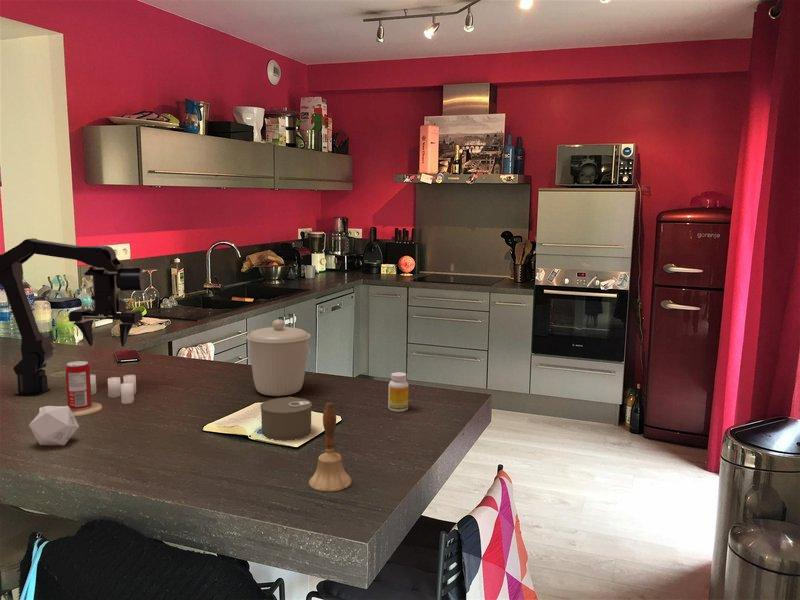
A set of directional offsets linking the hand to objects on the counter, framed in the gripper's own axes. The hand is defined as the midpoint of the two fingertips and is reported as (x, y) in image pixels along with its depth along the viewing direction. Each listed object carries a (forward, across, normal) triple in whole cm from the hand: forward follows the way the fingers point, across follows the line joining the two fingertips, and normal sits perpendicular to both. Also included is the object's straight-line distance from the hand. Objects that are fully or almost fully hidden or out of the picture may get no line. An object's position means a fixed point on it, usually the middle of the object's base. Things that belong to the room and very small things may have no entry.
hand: (107, 346), depth 185 cm
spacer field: (+13, -3, +17) cm, 22 cm away
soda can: (+13, -1, +18) cm, 22 cm away
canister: (+13, -48, -4) cm, 50 cm away
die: (+13, -8, +41) cm, 44 cm away
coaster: (+13, -1, +18) cm, 22 cm away
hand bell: (+13, -72, +57) cm, 93 cm away
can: (+13, -58, +29) cm, 66 cm away
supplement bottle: (+13, -83, +9) cm, 85 cm away
